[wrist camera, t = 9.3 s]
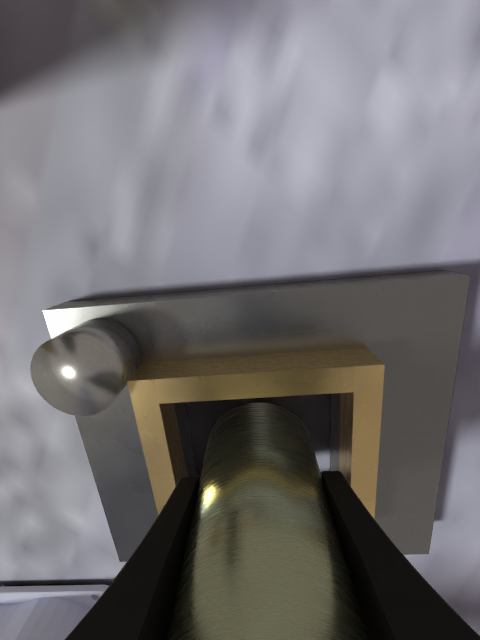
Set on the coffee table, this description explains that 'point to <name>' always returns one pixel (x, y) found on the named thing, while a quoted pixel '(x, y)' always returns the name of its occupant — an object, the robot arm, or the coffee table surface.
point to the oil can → (263, 539)
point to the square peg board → (263, 384)
